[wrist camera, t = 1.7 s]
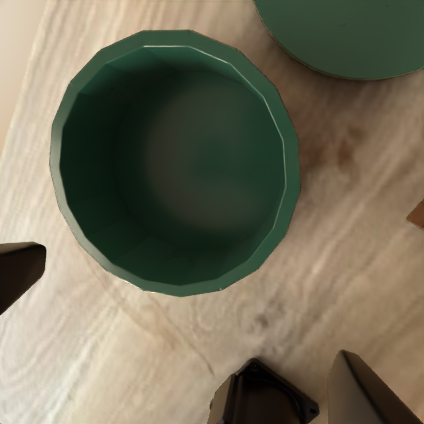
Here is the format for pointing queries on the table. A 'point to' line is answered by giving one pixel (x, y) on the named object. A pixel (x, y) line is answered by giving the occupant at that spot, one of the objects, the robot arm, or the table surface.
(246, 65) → the tin
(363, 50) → the lid
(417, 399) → the table surface
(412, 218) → the block
